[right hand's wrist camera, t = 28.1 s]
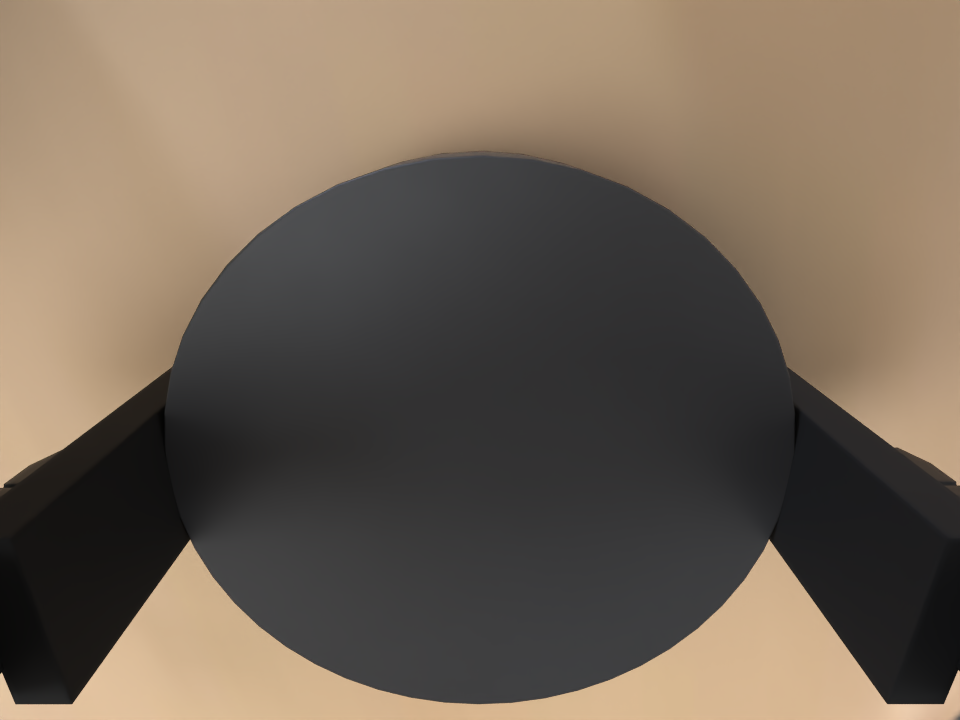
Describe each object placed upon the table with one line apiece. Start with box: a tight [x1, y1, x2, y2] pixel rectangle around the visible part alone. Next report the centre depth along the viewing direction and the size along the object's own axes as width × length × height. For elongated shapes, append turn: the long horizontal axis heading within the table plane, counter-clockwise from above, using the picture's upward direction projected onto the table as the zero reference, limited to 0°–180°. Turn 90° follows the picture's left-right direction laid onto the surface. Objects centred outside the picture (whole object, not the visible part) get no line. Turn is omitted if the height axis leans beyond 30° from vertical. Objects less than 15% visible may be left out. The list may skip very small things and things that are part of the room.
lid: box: [164, 151, 795, 704], centre depth 11 cm, size 11×11×2 cm
